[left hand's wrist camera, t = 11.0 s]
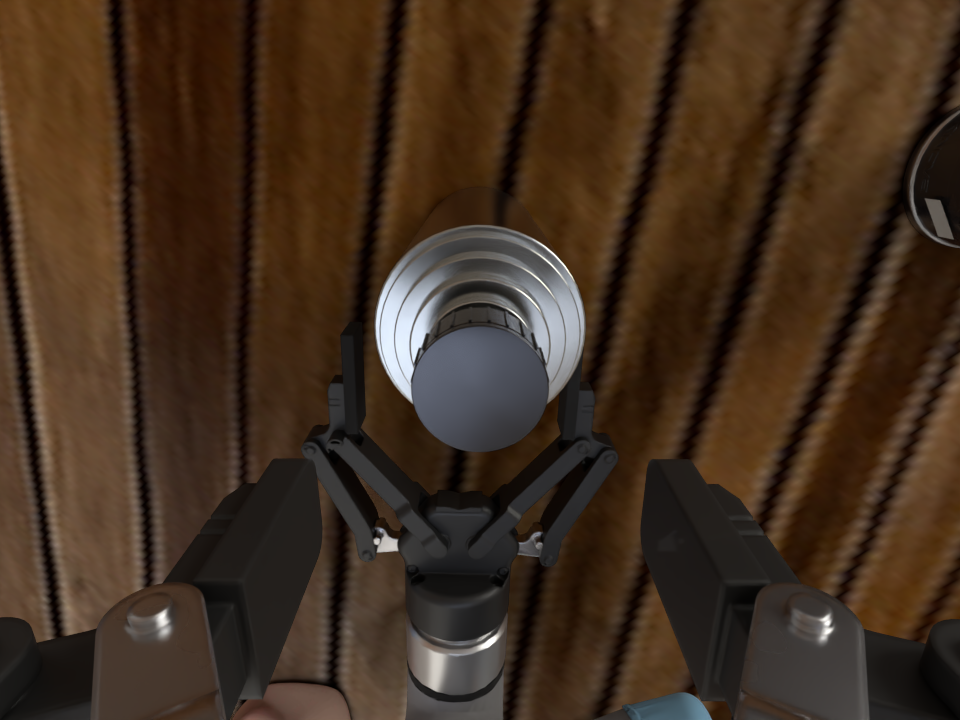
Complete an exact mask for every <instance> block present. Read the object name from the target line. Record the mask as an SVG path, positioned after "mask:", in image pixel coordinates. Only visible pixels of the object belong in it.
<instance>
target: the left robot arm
mask: <svg viewBox="0 0 960 720" xmlns="http://www.w3.org/2000/svg"><path fill="white" fill-rule="evenodd" d="M903 202H904V207H905V211H906V214H907V216H908V218H909V220H910V222H911V224H912V225H913V226H914V228H915V229H916V230H917V231H918V232H919V233H920V234H921V235H923V236H924V237H925V238H927V239H929V240H931V241H933V242H936V243H938V244H942V245H947V246H951V247H957V248H960V106H958V107H957V108H955V109H953V110H952V111H950V112H949V113H947V114H946V115H944V116H943V117H942V118H941V119H940V120H938V121H937V122H936V123H935V124H934V125H933V126H932V127H931V128H930V129H929V130H928V131H927V133H926V134H925V135H924V136H923V138H922V139H921V140H920V142H919V143H918V145H917V146H916V148H915V150H914V152H913V154H912V156H911V158H910V160H909V163H908V165H907V168H906V172H905V176H904V181H903ZM321 543H322V518H321V509H320V500H319V491H318V482H317V473H316V467H315V463H314V461H313V460H312V459H273V460H272V461H271V462H270V464H269V465H268V467H267V469H266V470H265V472H264V473H263V475H262V476H261V478H260V479H259V481H258V482H257V483H245V484H244V485H242V486H241V487H239V488H238V489H236V490H235V491H234V492H232V493H231V494H229V495H228V496H226V497H225V498H224V499H223V500H222V501H221V503H220V504H219V506H218V507H217V508H216V510H215V511H214V513H213V514H212V515H211V519H209V520H208V521H207V522H206V524H205V525H204V526H203V528H202V529H201V533H200V534H198V535H197V536H196V538H195V539H194V540H193V542H192V543H191V544H190V546H189V547H188V549H187V550H186V551H185V553H184V554H183V556H182V557H181V558H180V560H179V561H178V562H177V564H176V565H175V567H174V568H173V569H172V571H171V572H170V574H169V575H168V576H167V578H166V579H165V581H164V582H163V583H162V584H157V585H154V586H150V587H147V588H144V589H142V590H139V591H137V592H135V593H133V594H131V595H129V596H128V597H126V598H124V599H123V600H121V601H120V602H118V603H117V604H116V605H115V606H113V607H112V608H111V609H110V610H109V611H108V612H107V613H106V614H105V615H104V617H103V618H102V620H101V621H100V623H99V625H98V627H97V629H94V630H90V631H86V632H82V633H77V634H73V635H69V636H64V637H60V638H56V639H51V640H47V641H43V642H38V643H37V642H36V639H35V637H34V634H33V631H32V628H31V626H30V625H29V623H27V622H26V621H24V620H22V619H19V618H13V617H1V618H0V720H230V718H231V715H232V713H233V711H234V708H235V706H236V704H237V701H238V699H263V697H264V695H265V692H266V690H267V687H268V684H269V682H270V679H271V677H272V674H273V672H274V669H275V667H276V664H277V661H278V659H279V656H280V654H281V651H282V649H283V646H284V644H285V641H286V638H287V636H288V633H289V631H290V628H291V626H292V623H293V620H294V618H295V615H296V613H297V610H298V608H299V605H300V603H301V600H302V597H303V595H304V592H305V590H306V587H307V585H308V582H309V580H310V577H311V574H312V572H313V569H314V567H315V564H316V562H317V559H318V556H319V553H320V549H321ZM641 544H642V550H643V554H644V557H645V560H646V563H647V565H648V568H649V570H650V573H651V575H652V578H653V580H654V583H655V585H656V588H657V590H658V593H659V595H660V598H661V600H662V603H663V605H664V608H665V610H666V613H667V616H668V618H669V621H670V623H671V626H672V628H673V631H674V633H675V636H676V638H677V641H678V643H679V646H680V648H681V651H682V653H683V656H684V658H685V661H686V663H687V666H688V668H689V671H690V673H691V676H692V678H693V681H694V684H695V686H696V689H697V691H698V694H699V696H700V699H701V701H726V702H727V704H728V707H729V709H730V711H731V713H732V717H731V720H960V619H950V620H943V621H940V622H938V623H936V624H935V625H934V626H933V627H932V629H931V630H930V633H929V636H928V639H927V642H926V644H924V643H919V642H915V641H911V640H906V639H902V638H898V637H893V636H889V635H885V634H881V633H876V632H873V631H869V630H866V629H863V627H862V625H861V623H860V621H859V620H858V618H857V617H856V615H855V614H854V613H853V612H852V611H851V610H850V609H849V608H848V607H847V606H845V605H844V604H843V603H842V602H840V601H839V600H837V599H836V598H834V597H832V596H831V595H829V594H827V593H825V592H823V591H821V590H818V589H816V588H813V587H810V586H806V585H803V584H801V583H800V581H799V580H798V578H797V577H796V576H795V574H794V573H793V572H792V570H791V569H790V567H789V566H788V565H787V563H786V562H785V561H784V559H783V558H782V556H781V555H780V554H779V552H778V551H777V550H776V548H775V547H774V545H773V544H772V543H771V541H770V540H769V539H768V537H767V536H764V534H763V530H762V529H761V528H760V526H759V525H758V524H757V522H756V521H753V517H752V515H751V514H750V513H749V511H748V510H747V508H746V507H745V506H744V504H743V503H742V502H741V500H740V499H739V498H737V497H736V496H734V495H733V494H731V493H730V492H729V491H727V490H726V489H724V488H723V487H721V486H720V485H719V484H706V482H705V481H704V479H703V478H702V476H701V475H700V473H699V472H698V470H697V469H696V467H695V466H694V464H693V463H692V462H691V461H690V460H688V459H652V460H650V462H649V464H648V467H647V474H646V483H645V492H644V500H643V509H642V518H641Z"/></svg>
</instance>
